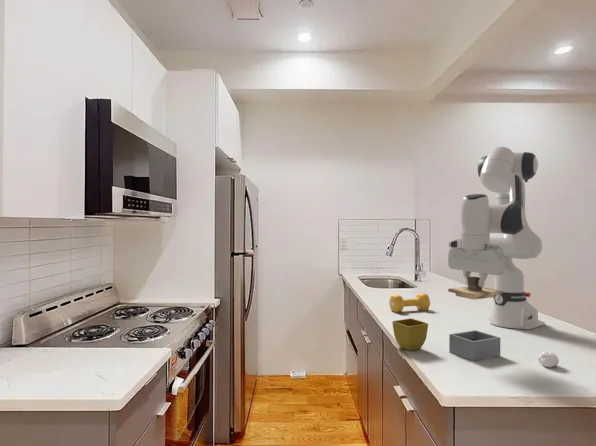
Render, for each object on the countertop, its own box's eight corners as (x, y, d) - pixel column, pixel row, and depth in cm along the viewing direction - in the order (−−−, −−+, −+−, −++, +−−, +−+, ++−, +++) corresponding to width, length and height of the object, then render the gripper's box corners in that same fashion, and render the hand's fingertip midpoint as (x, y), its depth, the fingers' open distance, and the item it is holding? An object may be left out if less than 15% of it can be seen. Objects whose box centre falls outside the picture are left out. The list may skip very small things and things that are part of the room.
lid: (475, 292, 146) (475, 274, 146) (502, 297, 136) (502, 278, 136) (448, 295, 140) (448, 276, 140) (473, 300, 131) (473, 281, 131)
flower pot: (409, 353, 139) (409, 326, 139) (391, 346, 146) (391, 320, 146) (428, 349, 143) (428, 323, 143) (410, 343, 151) (410, 318, 150)
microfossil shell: (549, 354, 124) (562, 353, 126) (533, 349, 129) (545, 348, 131) (549, 369, 124) (561, 368, 126) (533, 364, 129) (545, 363, 131)
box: (475, 347, 145) (475, 330, 145) (500, 356, 136) (500, 337, 136) (449, 352, 140) (449, 334, 140) (473, 361, 131) (473, 342, 131)
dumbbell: (421, 308, 210) (421, 291, 210) (432, 311, 202) (432, 294, 202) (387, 310, 205) (387, 293, 205) (396, 314, 196) (396, 296, 196)
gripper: (509, 245, 130) (509, 289, 130) (458, 241, 148) (458, 280, 149) (495, 245, 127) (495, 291, 127) (445, 242, 146) (445, 282, 146)
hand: (474, 285), depth 138 cm, fingers closed on lid, 3 cm apart
